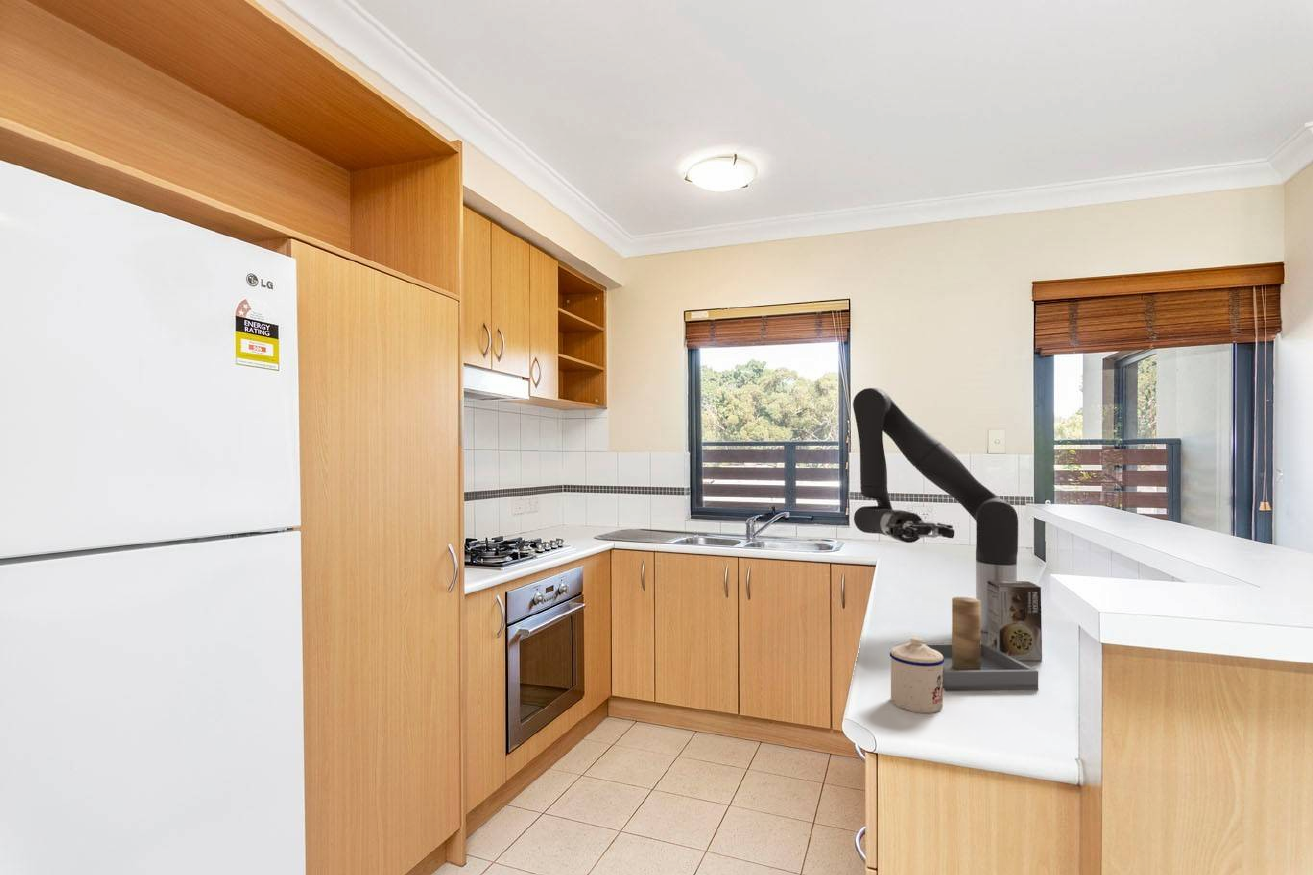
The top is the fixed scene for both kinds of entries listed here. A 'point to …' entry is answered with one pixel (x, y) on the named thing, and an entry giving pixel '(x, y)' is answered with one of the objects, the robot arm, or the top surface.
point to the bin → (987, 672)
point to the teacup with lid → (917, 677)
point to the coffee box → (1015, 619)
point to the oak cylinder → (966, 633)
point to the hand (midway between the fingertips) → (934, 533)
